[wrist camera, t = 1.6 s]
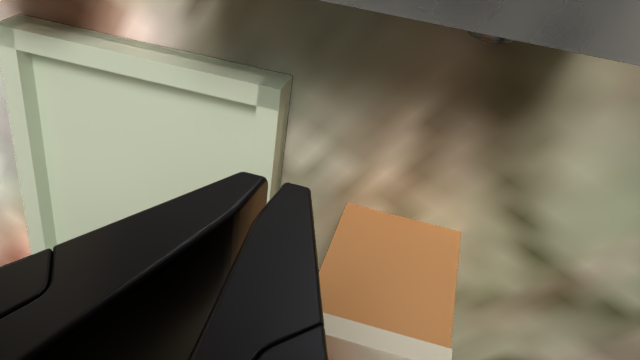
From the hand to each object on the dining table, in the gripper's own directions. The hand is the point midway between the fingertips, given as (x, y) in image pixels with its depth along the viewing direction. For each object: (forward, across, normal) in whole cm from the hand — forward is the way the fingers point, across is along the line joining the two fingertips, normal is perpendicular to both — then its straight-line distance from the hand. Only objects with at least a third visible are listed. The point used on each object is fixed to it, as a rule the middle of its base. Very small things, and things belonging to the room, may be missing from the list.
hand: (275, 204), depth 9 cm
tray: (+12, +8, +9) cm, 17 cm away
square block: (+12, -2, +10) cm, 16 cm away
